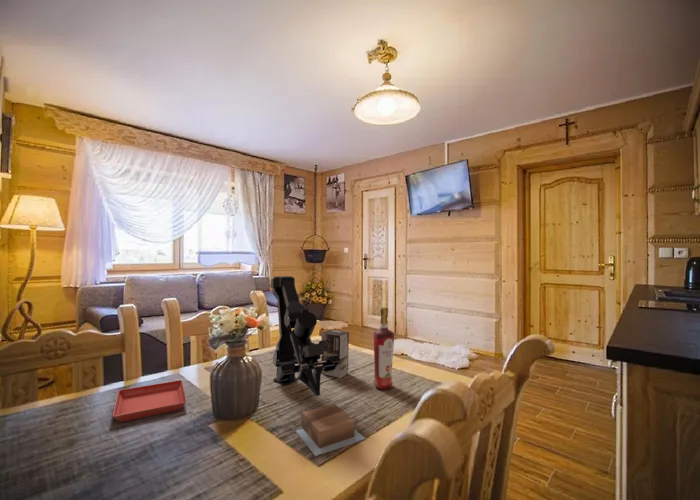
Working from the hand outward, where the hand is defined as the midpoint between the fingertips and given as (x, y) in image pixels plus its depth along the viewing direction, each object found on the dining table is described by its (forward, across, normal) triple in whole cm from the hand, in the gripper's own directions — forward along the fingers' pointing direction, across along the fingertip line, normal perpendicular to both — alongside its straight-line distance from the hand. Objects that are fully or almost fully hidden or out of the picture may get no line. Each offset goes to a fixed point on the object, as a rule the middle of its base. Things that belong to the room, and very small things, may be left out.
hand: (318, 395), depth 92 cm
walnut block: (+4, 0, +3) cm, 5 cm away
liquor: (-2, +31, +13) cm, 33 cm away
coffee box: (-15, +22, +26) cm, 37 cm away
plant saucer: (-18, -40, +30) cm, 53 cm away
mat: (+10, 0, 0) cm, 11 cm away
